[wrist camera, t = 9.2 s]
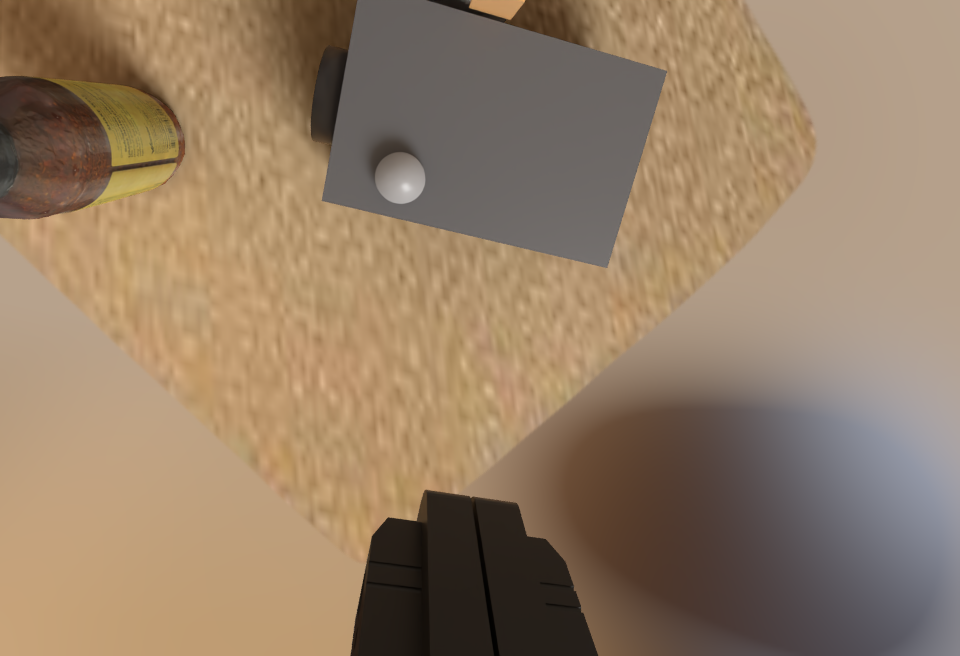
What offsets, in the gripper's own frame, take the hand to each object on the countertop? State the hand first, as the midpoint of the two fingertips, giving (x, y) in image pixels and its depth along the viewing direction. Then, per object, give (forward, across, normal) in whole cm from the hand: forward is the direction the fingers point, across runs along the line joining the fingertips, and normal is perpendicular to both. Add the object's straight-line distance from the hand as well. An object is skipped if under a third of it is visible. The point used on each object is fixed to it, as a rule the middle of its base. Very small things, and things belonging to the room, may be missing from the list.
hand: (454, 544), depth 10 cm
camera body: (+34, -2, -7) cm, 35 cm away
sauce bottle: (+34, +19, -2) cm, 39 cm away
